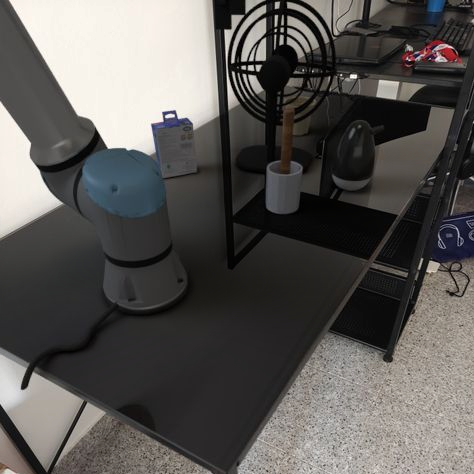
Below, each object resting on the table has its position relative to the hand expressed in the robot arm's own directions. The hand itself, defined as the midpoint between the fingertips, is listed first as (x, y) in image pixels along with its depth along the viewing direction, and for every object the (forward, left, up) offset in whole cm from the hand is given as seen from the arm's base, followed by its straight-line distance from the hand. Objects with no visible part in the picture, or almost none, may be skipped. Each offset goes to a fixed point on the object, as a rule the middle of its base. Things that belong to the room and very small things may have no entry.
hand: (231, 21), depth 78 cm
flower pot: (+41, +26, -35) cm, 60 cm away
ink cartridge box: (-3, +23, -35) cm, 42 cm away
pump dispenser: (+28, -10, -35) cm, 46 cm away
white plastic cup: (+8, -8, -35) cm, 36 cm away
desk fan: (+22, +13, -35) cm, 43 cm away
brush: (+8, -8, -34) cm, 36 cm away
